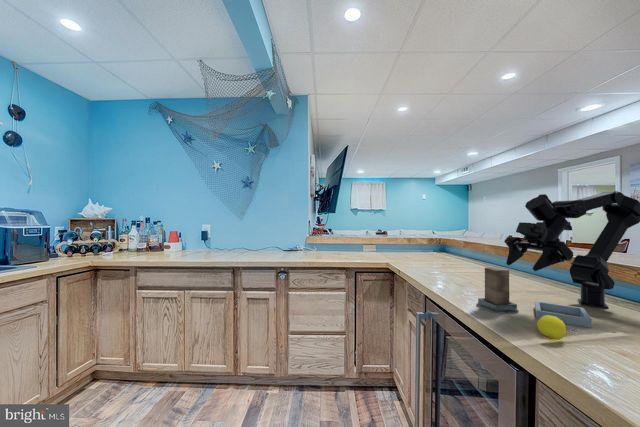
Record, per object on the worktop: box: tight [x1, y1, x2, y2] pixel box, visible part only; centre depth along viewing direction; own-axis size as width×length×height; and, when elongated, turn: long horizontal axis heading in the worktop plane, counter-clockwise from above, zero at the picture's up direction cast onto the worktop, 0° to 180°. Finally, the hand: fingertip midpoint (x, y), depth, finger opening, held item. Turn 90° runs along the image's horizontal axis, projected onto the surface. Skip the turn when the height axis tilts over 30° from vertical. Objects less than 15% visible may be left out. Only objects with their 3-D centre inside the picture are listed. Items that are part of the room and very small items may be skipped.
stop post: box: [484, 266, 510, 305], centre depth 85 cm, size 4×4×12 cm
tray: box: [534, 300, 593, 329], centre depth 78 cm, size 11×11×3 cm
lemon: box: [536, 315, 567, 340], centre depth 66 cm, size 7×5×5 cm
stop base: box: [476, 297, 520, 315], centre depth 85 cm, size 11×11×3 cm
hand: (519, 267), depth 86 cm, fingers open, 9 cm apart
